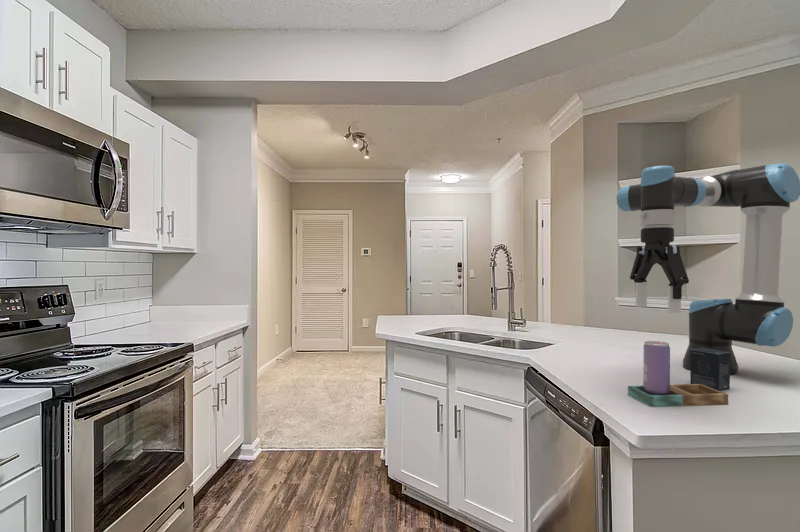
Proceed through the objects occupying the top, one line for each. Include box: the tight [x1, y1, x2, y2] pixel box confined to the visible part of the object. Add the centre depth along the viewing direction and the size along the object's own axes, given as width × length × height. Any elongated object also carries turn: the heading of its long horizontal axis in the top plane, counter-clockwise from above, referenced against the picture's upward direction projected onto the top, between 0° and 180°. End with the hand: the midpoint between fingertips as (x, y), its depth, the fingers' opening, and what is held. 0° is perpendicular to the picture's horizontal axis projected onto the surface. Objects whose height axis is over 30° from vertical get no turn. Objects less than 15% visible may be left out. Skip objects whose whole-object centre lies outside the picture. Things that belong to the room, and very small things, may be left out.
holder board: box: [627, 383, 729, 407], centre depth 119 cm, size 21×10×2 cm, turn 94°
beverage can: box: [642, 340, 671, 395], centre depth 119 cm, size 6×6×15 cm
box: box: [689, 348, 731, 392], centre depth 130 cm, size 8×6×11 cm
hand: (656, 309), depth 119 cm, fingers open, 13 cm apart
